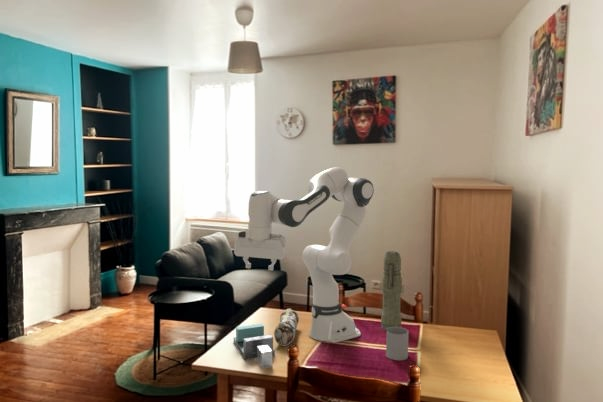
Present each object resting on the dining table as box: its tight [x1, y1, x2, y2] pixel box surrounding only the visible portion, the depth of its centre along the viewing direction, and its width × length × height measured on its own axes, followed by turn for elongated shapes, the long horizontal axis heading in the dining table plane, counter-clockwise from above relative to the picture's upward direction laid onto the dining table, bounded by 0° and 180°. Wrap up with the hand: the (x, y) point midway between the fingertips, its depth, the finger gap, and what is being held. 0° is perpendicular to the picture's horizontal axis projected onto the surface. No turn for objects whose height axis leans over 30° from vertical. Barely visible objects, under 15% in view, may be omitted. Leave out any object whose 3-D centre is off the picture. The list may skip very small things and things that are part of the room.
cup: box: [385, 326, 409, 361], centre depth 170 cm, size 8×8×10 cm
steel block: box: [256, 345, 273, 369], centre depth 163 cm, size 4×6×6 cm, turn 22°
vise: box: [233, 334, 276, 361], centre depth 176 cm, size 12×18×7 cm, turn 22°
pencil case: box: [273, 308, 300, 347], centre depth 189 cm, size 22×8×10 cm, turn 175°
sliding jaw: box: [235, 323, 265, 342], centre depth 181 cm, size 11×3×5 cm, turn 112°
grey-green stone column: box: [380, 250, 403, 332], centre depth 197 cm, size 9×12×35 cm
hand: (259, 269), depth 168 cm, fingers open, 8 cm apart
